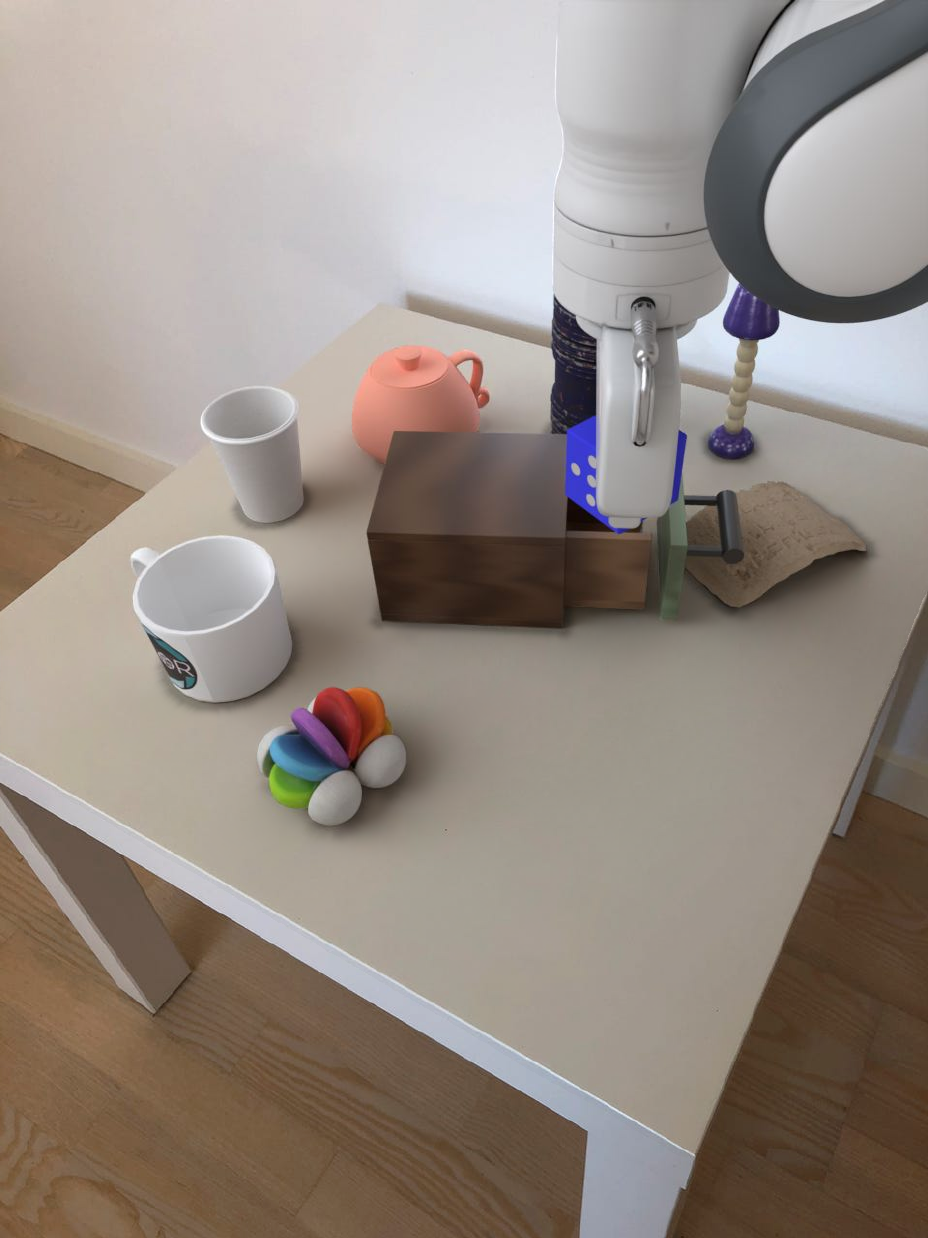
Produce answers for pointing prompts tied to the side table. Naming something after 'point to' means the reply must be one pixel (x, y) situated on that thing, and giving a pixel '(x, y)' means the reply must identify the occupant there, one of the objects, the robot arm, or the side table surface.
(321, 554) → the side table surface
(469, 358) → the sugar bowl
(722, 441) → the toy lamp
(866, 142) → the robot arm
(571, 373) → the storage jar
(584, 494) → the die
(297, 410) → the dixie cup
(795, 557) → the clay tablet
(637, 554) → the drawer
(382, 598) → the cabinet
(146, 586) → the mug
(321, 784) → the rainbow petal toy
